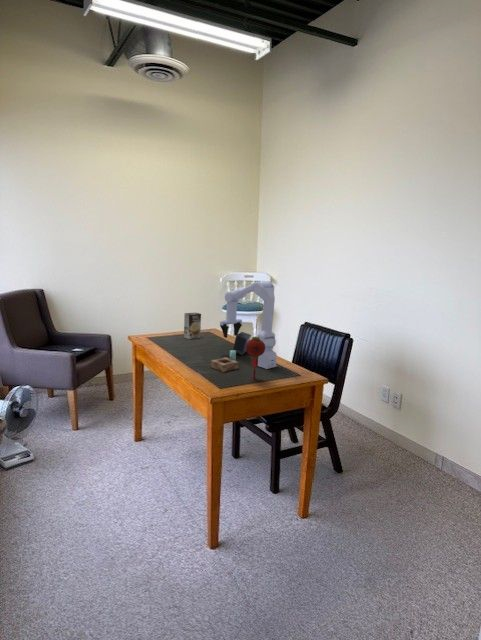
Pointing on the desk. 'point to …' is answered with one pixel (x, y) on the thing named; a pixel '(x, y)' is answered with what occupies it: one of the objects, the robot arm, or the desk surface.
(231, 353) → the peg
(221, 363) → the socket block
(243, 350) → the small box
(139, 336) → the desk surface
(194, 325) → the coffee box
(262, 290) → the robot arm
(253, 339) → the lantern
